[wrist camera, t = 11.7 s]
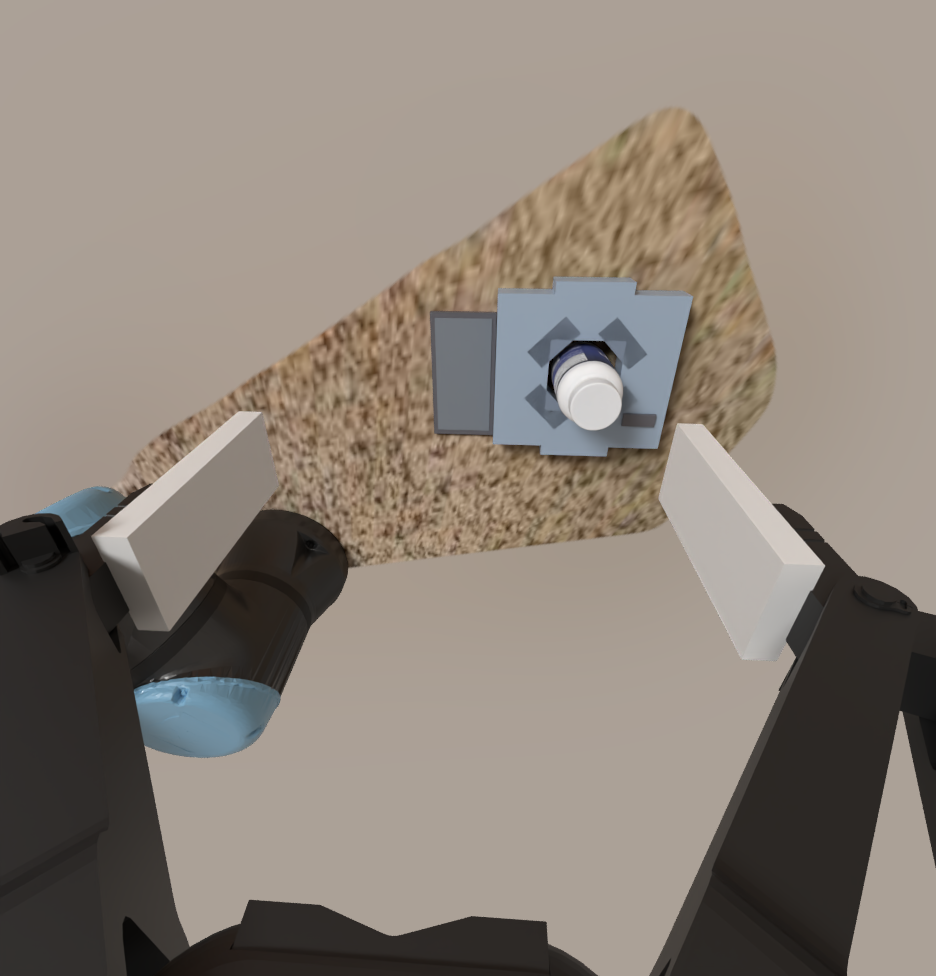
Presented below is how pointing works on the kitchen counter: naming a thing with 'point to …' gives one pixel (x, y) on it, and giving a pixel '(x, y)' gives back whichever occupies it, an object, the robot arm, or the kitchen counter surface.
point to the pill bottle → (587, 386)
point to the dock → (589, 317)
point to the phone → (463, 371)
